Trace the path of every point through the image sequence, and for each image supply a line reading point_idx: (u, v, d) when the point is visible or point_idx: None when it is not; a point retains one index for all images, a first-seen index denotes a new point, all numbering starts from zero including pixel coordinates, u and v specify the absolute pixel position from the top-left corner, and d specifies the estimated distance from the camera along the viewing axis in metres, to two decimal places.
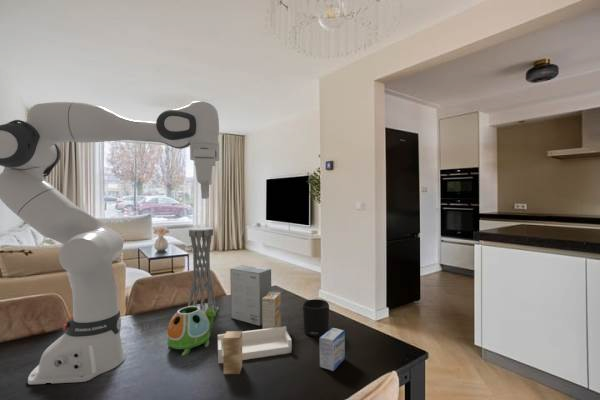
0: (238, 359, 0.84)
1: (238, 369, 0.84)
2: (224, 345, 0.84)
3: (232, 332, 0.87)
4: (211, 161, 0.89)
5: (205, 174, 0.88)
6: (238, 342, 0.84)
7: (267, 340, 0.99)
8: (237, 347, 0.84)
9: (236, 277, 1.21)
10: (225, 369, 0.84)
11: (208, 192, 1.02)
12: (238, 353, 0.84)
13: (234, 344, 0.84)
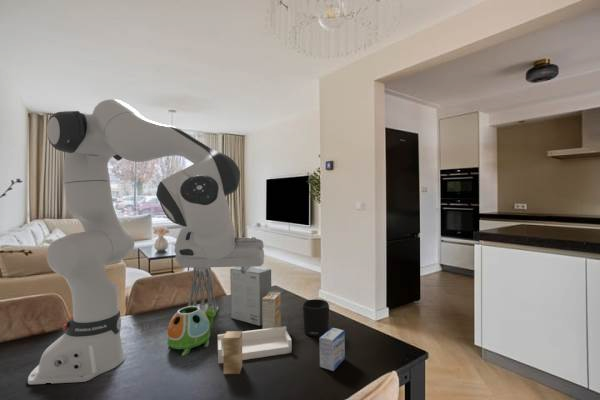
0: (238, 359, 0.84)
1: (238, 369, 0.84)
2: (224, 345, 0.84)
3: (232, 332, 0.87)
4: (176, 255, 0.70)
5: None
6: (238, 342, 0.84)
7: (267, 340, 0.99)
8: (237, 347, 0.84)
9: (236, 277, 1.21)
10: (225, 369, 0.84)
11: (243, 270, 0.77)
12: (238, 353, 0.84)
13: (234, 344, 0.84)
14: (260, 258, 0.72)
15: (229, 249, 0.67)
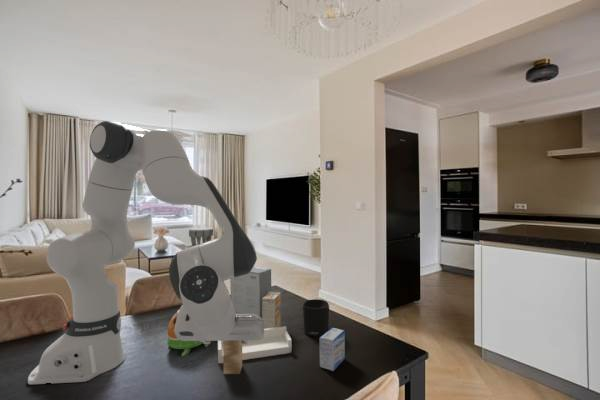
0: (238, 359, 0.84)
1: (238, 369, 0.84)
2: (224, 345, 0.84)
3: None
4: None
5: None
6: (238, 342, 0.84)
7: (267, 340, 0.99)
8: (237, 347, 0.84)
9: (236, 277, 1.21)
10: (225, 369, 0.84)
11: (244, 341, 0.77)
12: (238, 353, 0.84)
13: (234, 344, 0.84)
14: (260, 334, 0.72)
15: (229, 330, 0.67)
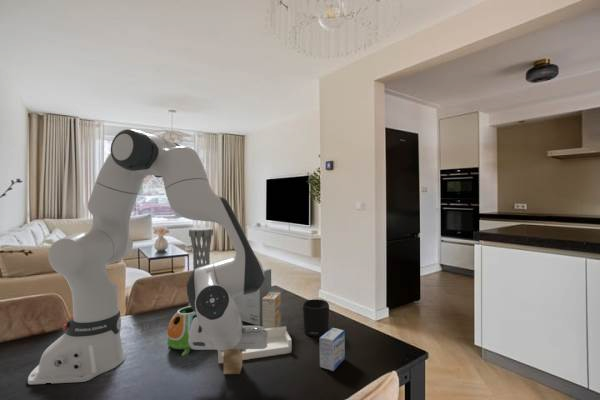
0: (238, 359, 0.84)
1: (238, 369, 0.84)
2: None
3: None
4: (189, 343, 0.78)
5: None
6: None
7: None
8: None
9: None
10: (225, 369, 0.84)
11: (242, 349, 0.85)
12: (238, 353, 0.84)
13: None
14: (264, 344, 0.80)
15: (237, 341, 0.75)
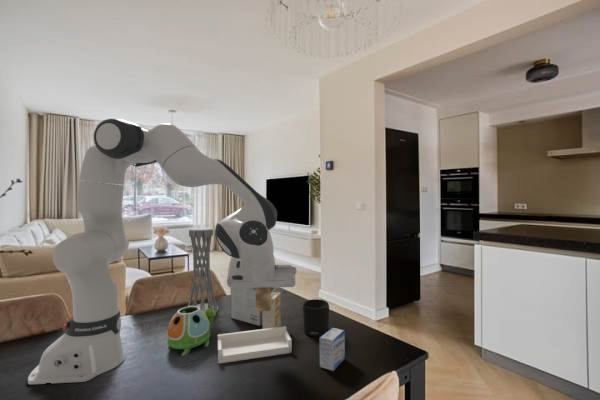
0: (269, 297, 0.94)
1: (269, 306, 0.94)
2: None
3: None
4: (227, 278, 0.88)
5: None
6: None
7: (267, 340, 0.99)
8: (268, 287, 0.94)
9: None
10: (257, 306, 0.94)
11: (272, 289, 0.95)
12: (269, 292, 0.94)
13: None
14: (293, 281, 0.90)
15: (271, 275, 0.85)
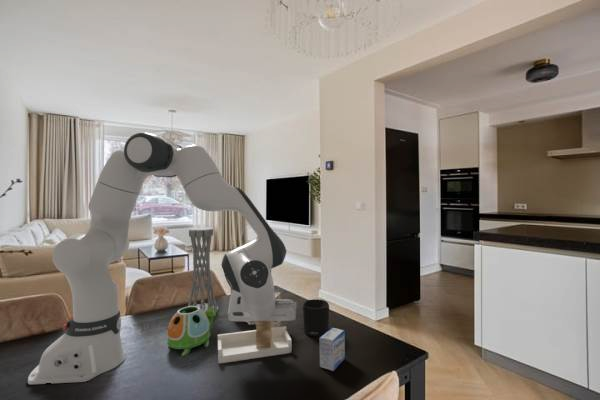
0: (269, 334, 0.95)
1: (269, 343, 0.95)
2: (257, 322, 0.95)
3: None
4: (228, 314, 0.88)
5: None
6: None
7: None
8: (268, 324, 0.95)
9: None
10: (257, 343, 0.95)
11: (276, 322, 0.95)
12: (269, 329, 0.95)
13: (266, 321, 0.95)
14: (294, 315, 0.90)
15: (271, 311, 0.86)
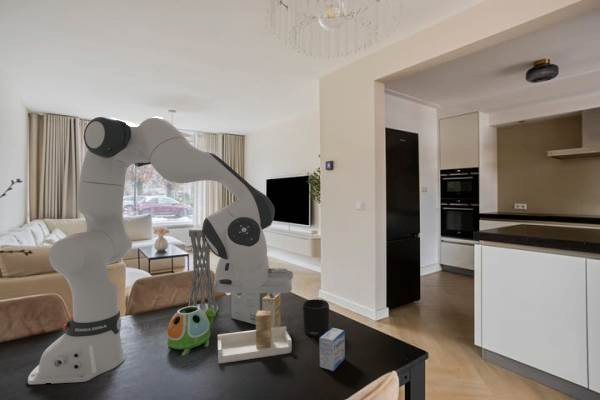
0: (269, 334, 0.95)
1: (269, 343, 0.95)
2: (256, 322, 0.95)
3: (262, 311, 0.98)
4: (214, 282, 0.77)
5: None
6: (269, 319, 0.95)
7: None
8: (268, 324, 0.95)
9: None
10: (257, 343, 0.95)
11: (272, 295, 0.85)
12: (269, 329, 0.95)
13: (265, 321, 0.95)
14: (289, 287, 0.80)
15: (264, 280, 0.75)
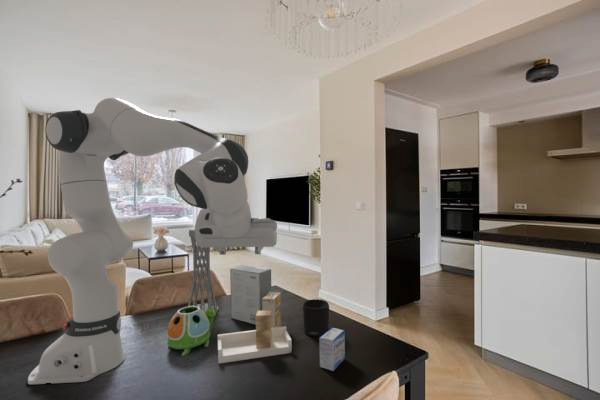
0: (269, 334, 0.95)
1: (269, 343, 0.95)
2: (256, 322, 0.95)
3: (262, 311, 0.98)
4: (195, 234, 0.74)
5: None
6: (269, 319, 0.95)
7: None
8: (268, 324, 0.95)
9: (236, 277, 1.21)
10: (257, 343, 0.95)
11: (257, 250, 0.82)
12: (269, 329, 0.95)
13: (265, 321, 0.95)
14: (274, 238, 0.77)
15: (245, 228, 0.72)
